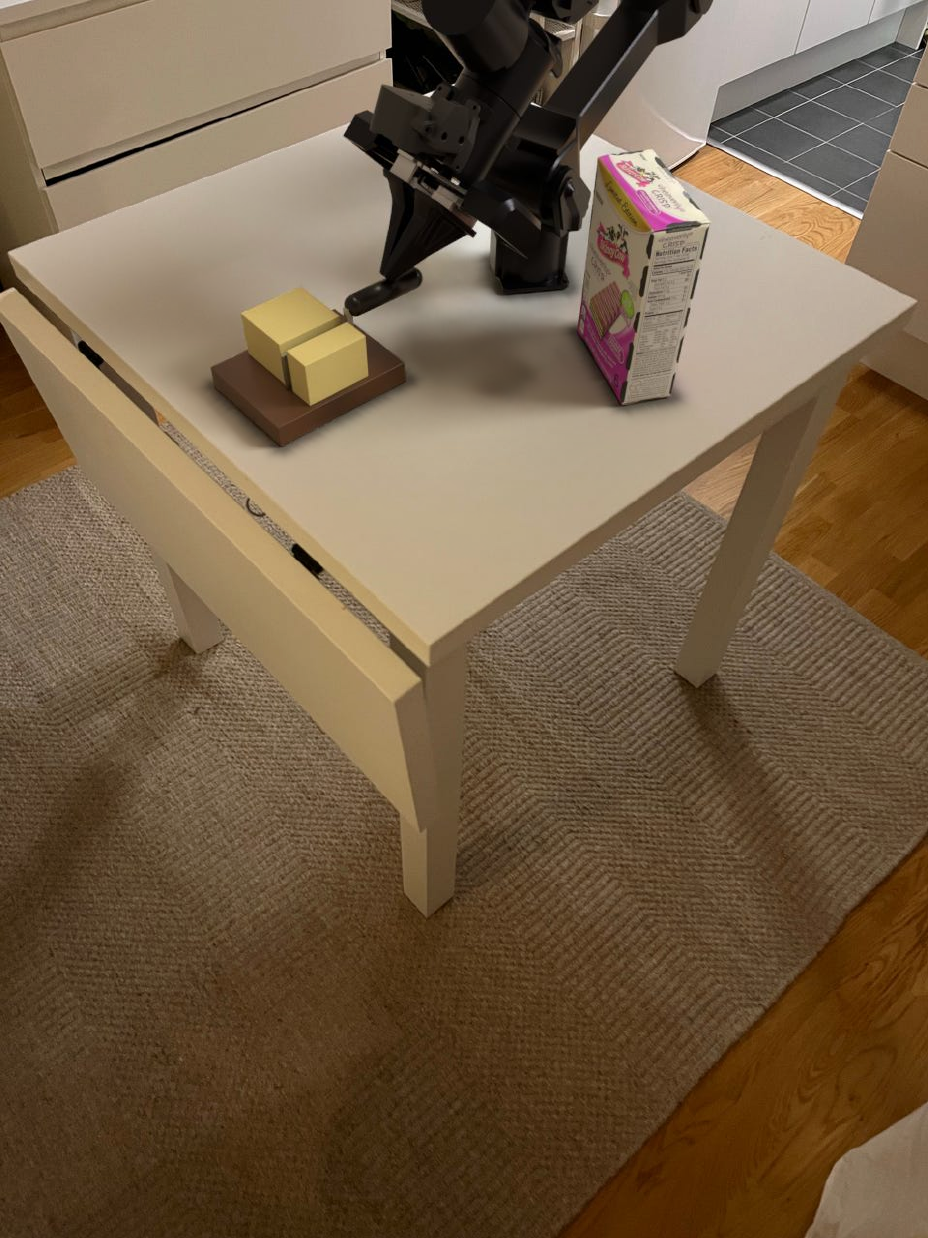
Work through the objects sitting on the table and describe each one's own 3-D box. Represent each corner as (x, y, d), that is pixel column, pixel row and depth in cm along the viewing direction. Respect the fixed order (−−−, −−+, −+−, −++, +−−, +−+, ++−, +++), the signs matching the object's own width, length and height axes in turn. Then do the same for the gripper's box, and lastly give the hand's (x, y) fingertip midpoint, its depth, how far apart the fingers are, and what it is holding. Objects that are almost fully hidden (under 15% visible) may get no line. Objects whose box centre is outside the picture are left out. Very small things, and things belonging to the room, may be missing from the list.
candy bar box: (572, 331, 88) (594, 153, 75) (623, 322, 89) (653, 145, 76) (618, 409, 81) (651, 228, 68) (672, 399, 82) (715, 219, 69)
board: (336, 327, 88) (334, 308, 86) (405, 381, 83) (405, 362, 82) (214, 386, 82) (209, 367, 81) (281, 447, 78) (277, 428, 76)
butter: (305, 326, 84) (300, 285, 81) (368, 376, 80) (365, 335, 77) (248, 353, 82) (240, 312, 79) (310, 406, 78) (304, 366, 75)
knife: (414, 313, 85) (413, 259, 81) (427, 323, 84) (427, 269, 80) (280, 380, 79) (270, 325, 75) (292, 391, 78) (284, 336, 74)
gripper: (353, -3, 72) (252, 187, 76) (524, 84, 64) (400, 293, 68) (434, 78, 81) (340, 244, 86) (592, 164, 73) (480, 343, 77)
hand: (385, 277), depth 79 cm, fingers closed, pressing on knife
